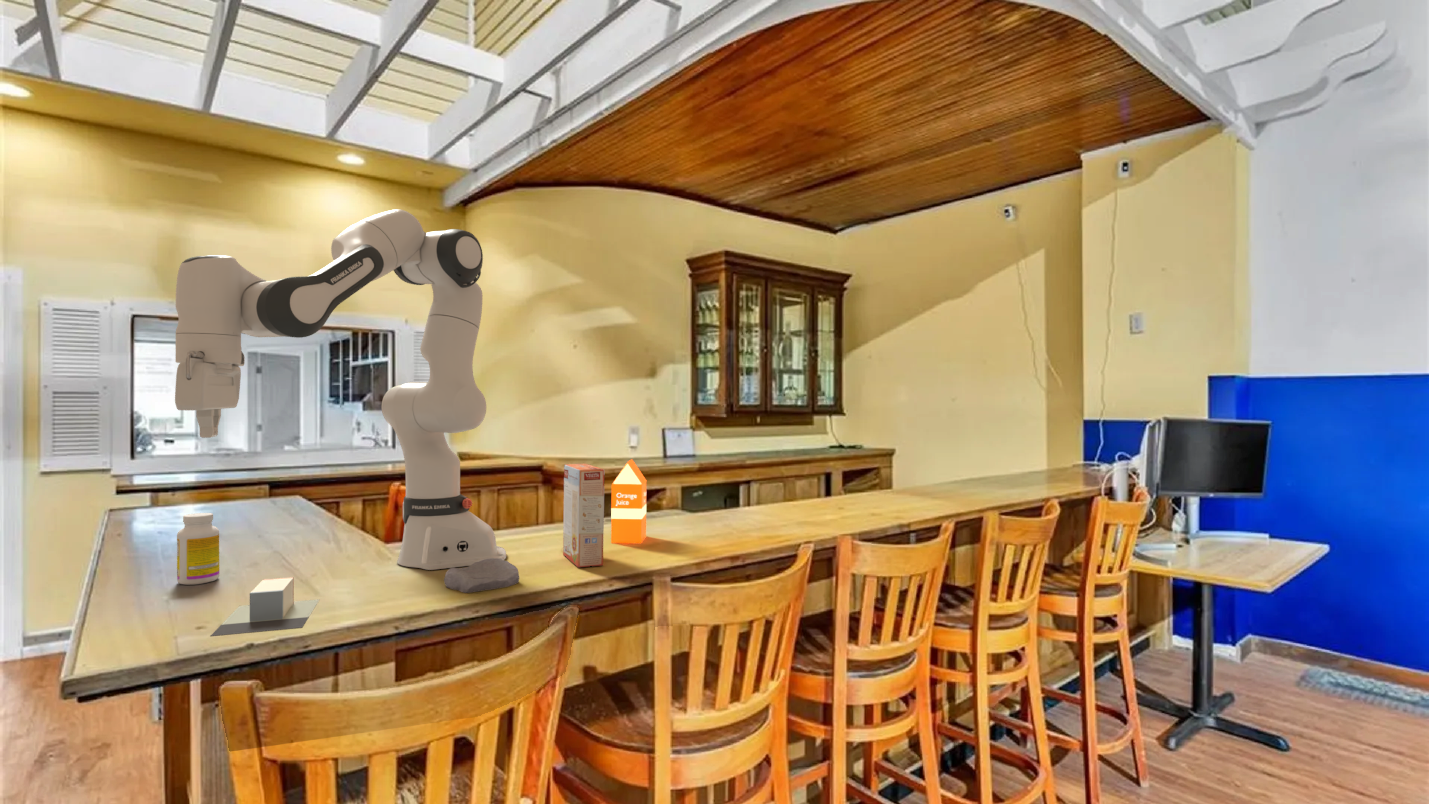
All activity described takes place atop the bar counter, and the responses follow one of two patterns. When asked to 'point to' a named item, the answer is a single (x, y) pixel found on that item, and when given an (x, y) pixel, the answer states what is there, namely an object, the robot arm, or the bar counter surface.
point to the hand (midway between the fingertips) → (208, 437)
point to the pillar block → (271, 599)
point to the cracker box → (583, 514)
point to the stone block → (482, 576)
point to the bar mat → (242, 624)
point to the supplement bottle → (197, 550)
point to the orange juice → (628, 506)
